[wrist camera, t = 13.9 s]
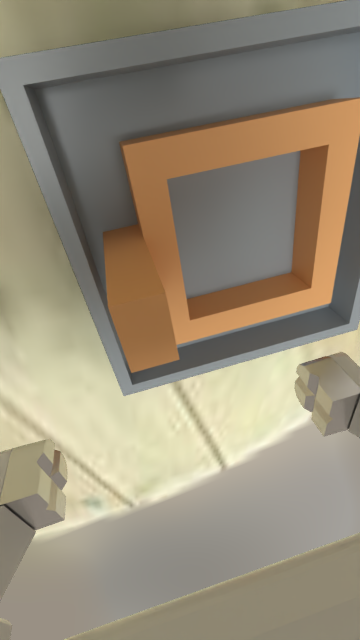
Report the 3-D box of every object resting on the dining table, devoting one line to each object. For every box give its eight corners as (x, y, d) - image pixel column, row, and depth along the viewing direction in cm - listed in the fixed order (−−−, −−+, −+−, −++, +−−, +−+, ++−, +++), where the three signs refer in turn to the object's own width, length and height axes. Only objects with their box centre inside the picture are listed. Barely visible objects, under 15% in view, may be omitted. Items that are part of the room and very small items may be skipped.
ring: (332, 99, 19) (500, 88, 11) (310, 286, 28) (398, 357, 20) (77, 150, 18) (62, 179, 10) (134, 333, 26) (151, 431, 18)
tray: (9, 70, 16) (-12, 59, 13) (381, 7, 18) (443, -16, 15) (120, 364, 29) (123, 396, 26) (330, 307, 31) (357, 329, 28)
